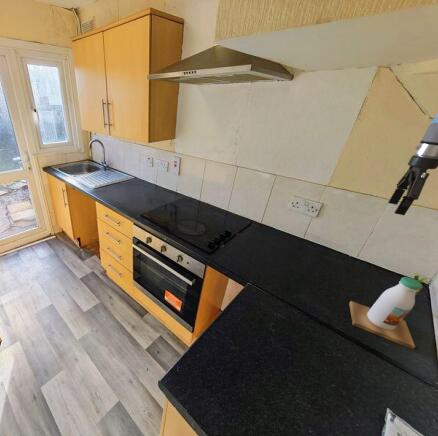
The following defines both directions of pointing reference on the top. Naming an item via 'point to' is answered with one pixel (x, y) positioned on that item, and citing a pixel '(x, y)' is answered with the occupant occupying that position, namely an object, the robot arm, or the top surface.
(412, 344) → the chopping board
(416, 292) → the carrot
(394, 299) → the milk bottle
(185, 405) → the top surface
